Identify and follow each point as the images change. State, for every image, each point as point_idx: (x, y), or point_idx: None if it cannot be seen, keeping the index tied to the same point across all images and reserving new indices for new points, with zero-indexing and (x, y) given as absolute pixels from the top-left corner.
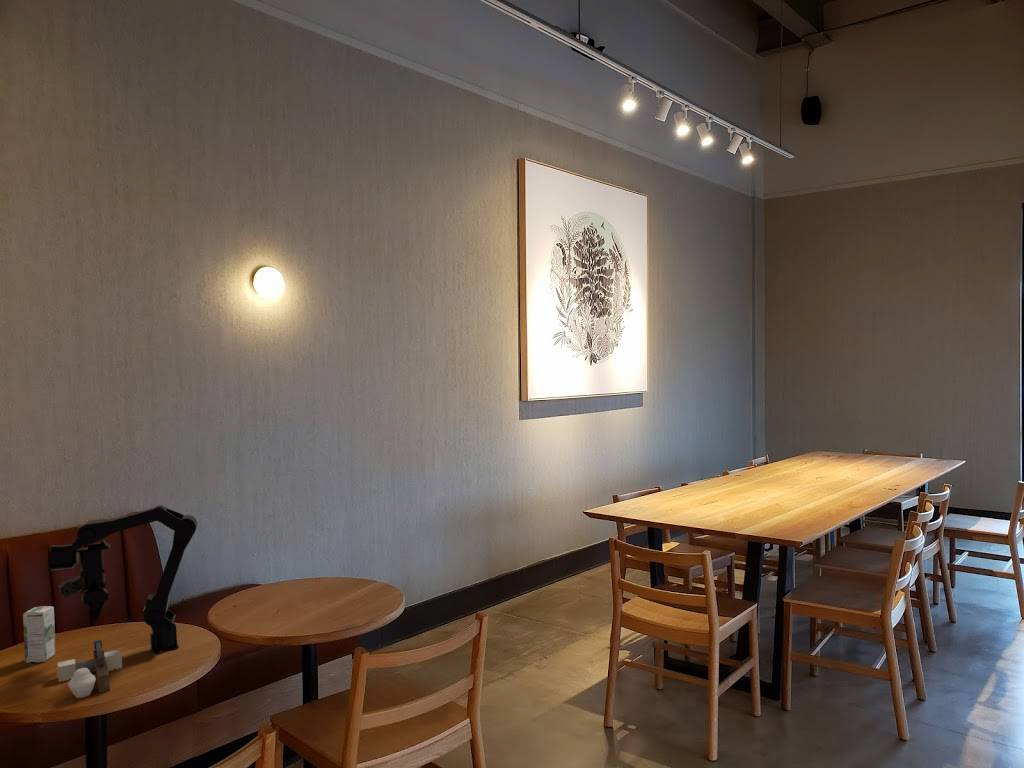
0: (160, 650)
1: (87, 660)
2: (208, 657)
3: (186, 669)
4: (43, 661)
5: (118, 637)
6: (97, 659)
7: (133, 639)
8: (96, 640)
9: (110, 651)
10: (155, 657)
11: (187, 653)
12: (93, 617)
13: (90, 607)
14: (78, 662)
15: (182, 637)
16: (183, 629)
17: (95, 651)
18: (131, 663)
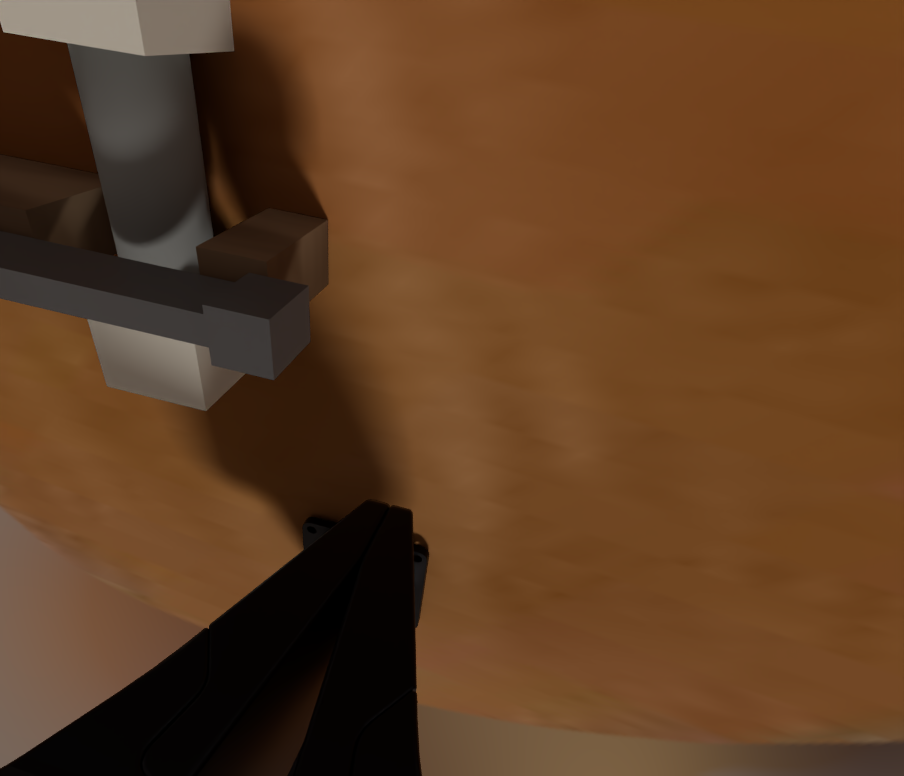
0: (304, 542)
1: (114, 162)
2: (129, 589)
3: (26, 500)
4: None
5: (868, 528)
6: (14, 224)
7: (694, 555)
8: (238, 334)
9: (195, 354)
10: (250, 494)
11: (222, 578)
12: (330, 534)
13: (115, 698)
14: (92, 77)
15: (469, 659)
16: (596, 711)
17: (230, 269)
18: (226, 394)
